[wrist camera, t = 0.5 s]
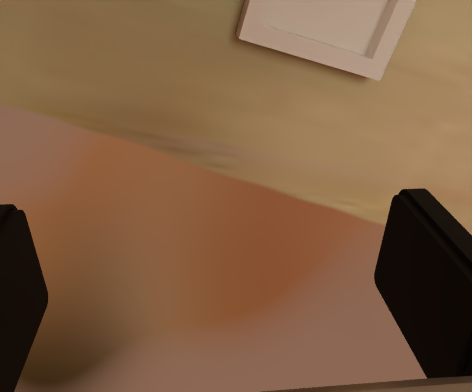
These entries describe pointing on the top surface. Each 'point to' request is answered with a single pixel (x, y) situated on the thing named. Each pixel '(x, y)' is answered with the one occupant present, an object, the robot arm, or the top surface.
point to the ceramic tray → (329, 30)
